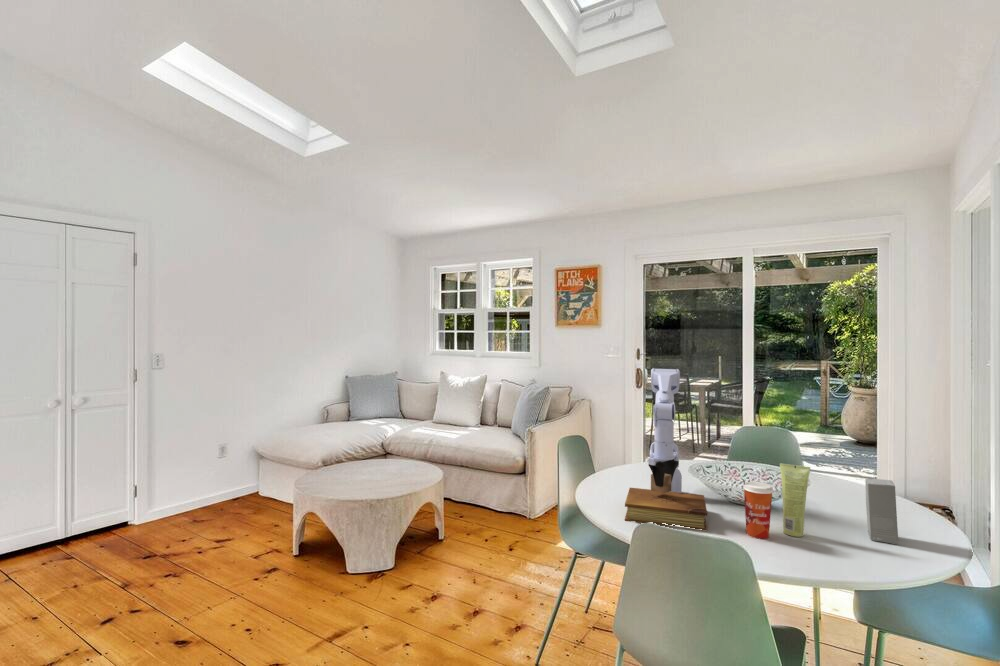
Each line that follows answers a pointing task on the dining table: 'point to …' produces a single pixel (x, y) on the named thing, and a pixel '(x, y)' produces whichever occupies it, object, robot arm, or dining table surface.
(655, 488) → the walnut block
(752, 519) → the paper cup
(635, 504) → the diary
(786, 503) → the tube
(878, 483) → the skincare box
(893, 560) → the dining table surface
